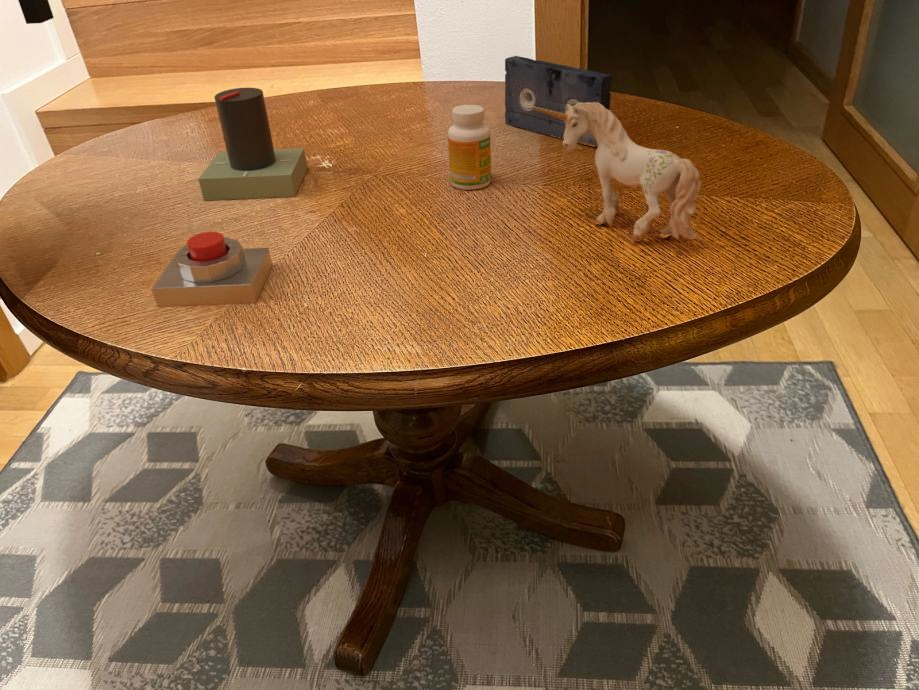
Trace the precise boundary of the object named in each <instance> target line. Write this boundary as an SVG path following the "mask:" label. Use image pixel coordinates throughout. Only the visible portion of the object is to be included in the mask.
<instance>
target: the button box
mask: <svg viewBox="0 0 919 690" xmlns="http://www.w3.org/2000/svg"><path fill="white" fill-rule="evenodd" d="M224 240H225V244H226V248H227V254H225V255H224V256H222V257H220V258H218V259H214V260H210V261H193V260H192V259H191V257H190V253H189V250H188V246H187V244H186V245H184V246H182V247H181V248H179V249H178V250H177V251H176V252H175V254H174V255H173V256H172V258H171V259H170V261H169V262H168V264H167V265H166V266H165V268H164V269H163V271H162V273H161V274H160V275H159V276H158V279H157V280H156V281H155V283H154V284H153V286H152V288H151V291H152V295H153V297H154V300H155V303H156V307H157V308H166V307H167V308H168V307H169V308H170V307H171V308H172V307H192V306H193V307H195V306H214V305H215V306H219V305H239V304H244V305H245V304H257V303H258V300H259V298H260V295H261V293H262V292H263V291H262V290H263V288H264V286H265V283H266V282H267V279H268V277H269V274H270V272H271V269H272V267H273V261H272V256H271V251H270V248H269V247H255V248H254V247H253V248H243V246H242V245H241V243H240V242H239V241H238V239H233V238H230V237H226V236H224Z"/></svg>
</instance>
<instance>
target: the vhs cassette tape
mask: <svg viewBox="0 0 919 690" xmlns="http://www.w3.org/2000/svg"><path fill="white" fill-rule="evenodd" d="M504 71H505V73H504V108H505V111H504V123H505V125H507V124H508V125H507V126H510V125H512V126H511V127H515V126H516V127H515V128H518V127H520V128H519V129H522V128H524V129H523V130H525V129H528V130H527V131H529V130H532V131H536V132H539V133H538V134H540V133H543V134H548V135H553V136H556V137H560V138H564V132H565V129H566V125H565V121H563V120H560V119H558V118H555V117H553V116H549V115H547V114H544V113H541V112H538V111H536V110H533V109H532V108H531V107H532V106H535V107H539V108H543V109H548V110H552V111H557V112H559V113H564V114H565V113H566V112H567V111H569V110H568V107H567V104H569V105H570V106H575V105H576V104H577V103H581V102H582V103H587V102H590V103H593V102H597V103H600V104H601V105H603V106H604V107H605V108H606V109H608V110H610V111H611V109H610V108H611V98H612V97H611V96H612V93H611V91H612V84H613V74H609V73H602V72H599V71H594V70H590V69H589V70H588V69H585V68H578V67H574V66H569V65H566V64H565V65H564V64H559V63H553V62H550V61H544V60H538V59H537V60H536V59H532V58H529V57H524V56H519V55H514V56H509V57H507V58H505V59H504ZM532 131H531V132H532ZM536 132H535V133H536ZM543 134H542V135H543ZM548 135H547V136H548ZM578 142H582V143H587V144H592V145H595V146H598V145H597V141H596V139H595V137H594V136H593V134H592V133H591V132H590V131H589V130H588V131H587V132H586V133H585V134H583V135H581V137H580V138H579V139H578Z"/></svg>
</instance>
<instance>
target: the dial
mask: <svg viewBox="0 0 919 690" xmlns="http://www.w3.org/2000/svg"><path fill="white" fill-rule="evenodd" d="M264 95H265V94H264V92H263V90H262V88H261V89H260V88H258V87H236V88H231V89H226V90H222V91H220V92H218V93H216V94H215V95H214V101H215V106H216V110H217V115H218V119H219V122H220V128H221V132H222V136H223V141H224V145H225V150H226V152H227V154H228V158H229V163H230V166H231V168H233V169H236V170H243V171H248V170H257V169H262V168H265V167H268V166H270V165H272V164H273V163H274V162H275V161H276V158H275V153H274V150H275V148H274V143H273V138H272V133H271V127H270V122H269V117H268V112H267V106H266V101H265V97H264Z"/></svg>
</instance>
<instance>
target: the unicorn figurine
mask: <svg viewBox="0 0 919 690" xmlns="http://www.w3.org/2000/svg"><path fill="white" fill-rule="evenodd" d="M567 107H568V110H569V111H567V112H566V113H565V114H564V113H559V112H557V111H552V110H548V109H543V108H539V107H535V106H532V107H531V108H532V109H533V110H536V111H538V112H541V113H544V114H547V115H549V116H553V117H555V118H558V119H560V120H563V121H565V125H566V129H565V132H564V140H562V146H563V147H564V148H565V149H566V150H567V151H568V152H569V151H573V150H574V149H576V148H578V144H577V141H578V139H579V138H580V137H581V135H583V134H585V133H586V132H587V131H588V130H589V131H590V132H591V133H592V134H593V136H594V137H595V139H596V141H597V145H598V147H597V148H596V150H595V153H594V164H595V166H596V171H597V173H598V180H599V182H600V186H601V195H602V200H603V211H602V213H601V214H599V215H597V217H596V219H595V220H594V223H595V222H596V223H600V224H603V223H604V224H605V223H606V222H607V224H608V225H609V226H610V225H612V226H613V225H614V219H615V217H616V215H617V214H616V211H618V210H620V198H619V196H618V195H617V194H616V192H614V191H612V181H613V180H616V181H617V182H619V183H621V184H623V185H625V186H627V187H635V188H639V187H641V190H642V192H643V193H644V199H645V201H646V204H647V207H648V210H647V212H646V213H645V214H644V215H643V216H642V217H640V218H639V219H637V220H636V221H635V222H634V225H633V231H632V232H633V235H632V236H633V237H632V241H633V240H635V242H638V241H637V240H639V239H640V238H642V239H644V238H645V237H646V235H645V234H646V233H647V232H648V231H649V230H650V228H651V221H652V220H654V219H656V218H658V217H660V216H661V215H662V211H661V207H660V196H661V194H662V193H664V195H665V197H666V199H667V201H668V202H669V206H670V207H669V214H670V219H669V222H668V225H667V226H666V227H663V228H662V229H661V230H660V231H661V233H662V234H664V235H669V234H672V236H671V237H672V238H674V237H675V239H676V240H679V239H680V236H682V237H683V238H685V239H688V240H692V241H693V240H696V239H697V234H696V233H695V232H694V228H693V226H692V224H691V217H692V215H694V214H695V213H697V207H696V205H695V201H696V200H697V198H698V196H699V193H700V192H699V191H700V190H701V188H702V181H701V180H700V178H701V175H700V172H699V170H698V168H697V167H696V166H695V165H694V163H693V162H692V161H691V159H689V158H681V157H680V156H678V155H677V154H675V153H674V152H672V151H669V150H665V149H657V148H655V149H654V148H648V147H646V146H645V147H644V146H643V145H639V144H637V143H635V142H634V141H633V140H632V139H631V138H630V137H629V135H628V132H627V130H626V129H625V128H624V126H623V123H622V122H621V121H620V120H619V118H618V117H617V116H616V115H615V114H614V113H613V112H612V110H611V109H610V110H608V109H606V108H605V107H604V106H603V105H601V104H600V103H597V102H593V103H590V102H587V103H582V102H581V103H577V104H576V105H575V106H570V105H569V104H567ZM618 212H619V211H618ZM615 214H616V215H615ZM596 223H595V224H596ZM604 224H603V225H604ZM639 241H640V240H639Z"/></svg>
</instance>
